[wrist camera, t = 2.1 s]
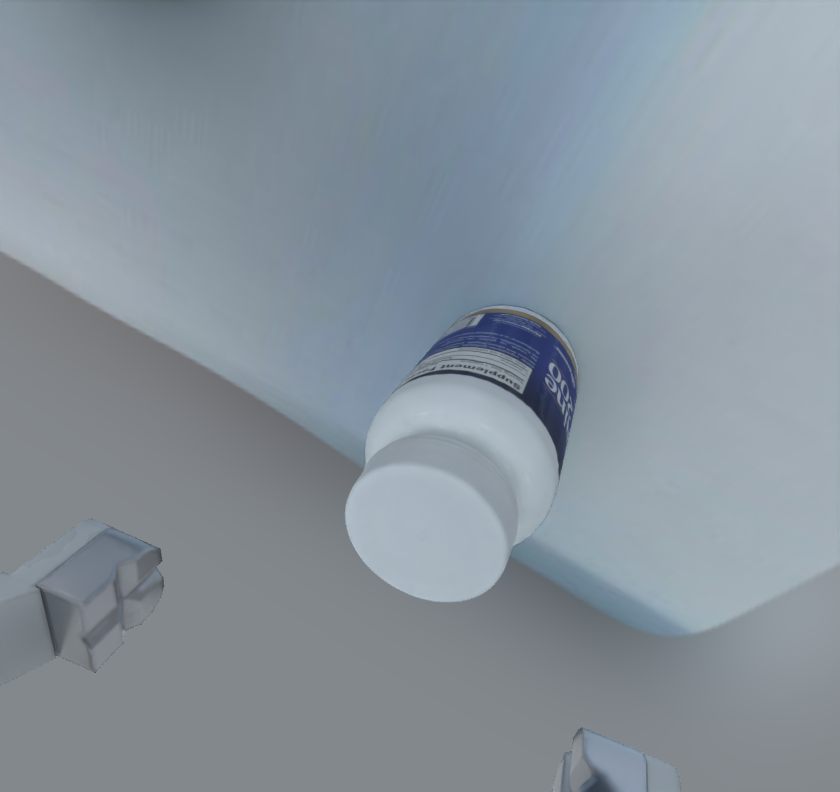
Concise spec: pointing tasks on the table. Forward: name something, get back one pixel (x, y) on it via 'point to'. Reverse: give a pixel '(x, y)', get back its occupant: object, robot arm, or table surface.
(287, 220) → the table surface
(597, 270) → the table surface
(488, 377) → the pill bottle
